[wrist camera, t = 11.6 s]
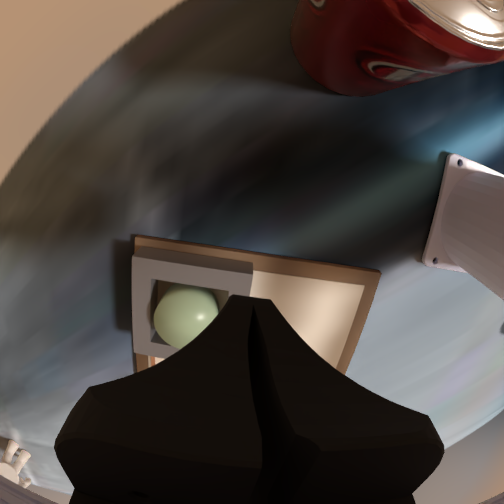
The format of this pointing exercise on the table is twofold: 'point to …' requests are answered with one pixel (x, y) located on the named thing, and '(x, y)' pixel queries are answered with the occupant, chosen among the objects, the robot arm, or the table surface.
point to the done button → (184, 313)
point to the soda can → (394, 41)
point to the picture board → (294, 296)
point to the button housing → (179, 271)
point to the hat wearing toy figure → (14, 464)
